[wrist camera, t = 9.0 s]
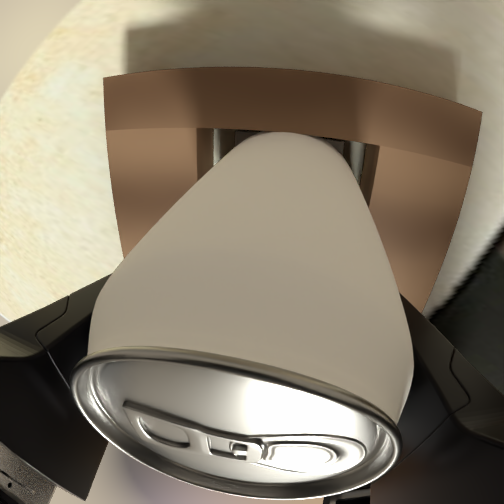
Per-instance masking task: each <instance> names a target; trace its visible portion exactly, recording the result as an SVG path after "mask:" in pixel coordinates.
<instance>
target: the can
mask: <svg viewBox="0 0 504 504" xmlns="http://www.w3.org/2000/svg"><path fill="white" fill-rule="evenodd" d="M413 371H414V358H413V348H412V341H411V336H410V332H409V327H408V323H407V319H406V315H405V312H404V308H403V305H402V301H401V298H400V294H399V291H398V288H397V285H396V282H395V278H394V275H393V272H392V269H391V267H390V264H389V261H388V258H387V255H386V252H385V249H384V247H383V244H382V241H381V239H380V236H379V233H378V231H377V228H376V226H375V223H374V221H373V218H372V216H371V213H370V211H369V208H368V206H367V204H366V201H365V199H364V197H363V194H362V192H361V190H360V188H359V185H358V183H357V181H356V179H355V177H354V175H353V173H352V171H351V169H350V167H349V165H348V163H347V162H346V160H345V159H344V157H343V156H342V155H341V154H340V153H339V151H338V150H337V149H336V148H335V147H333V146H332V145H331V144H330V143H329V142H327V141H326V140H324V139H323V138H321V137H319V136H313V135H304V134H297V133H289V132H273V131H262V132H259V133H257V134H254V135H252V136H250V137H248V138H247V139H245V140H244V141H242V142H241V143H240V144H238V145H237V146H236V147H235V148H234V149H232V150H231V151H230V152H229V153H228V154H227V155H226V156H224V157H223V158H222V159H221V160H220V161H219V162H218V163H217V164H216V165H215V166H213V167H212V168H211V169H210V170H209V171H208V172H207V173H206V174H205V175H204V176H203V177H202V178H201V179H200V180H199V181H198V182H197V183H196V184H194V185H193V186H192V187H191V188H190V189H189V190H188V191H187V192H186V193H185V194H184V195H183V196H182V197H181V198H180V199H179V200H178V201H177V202H176V203H175V204H174V205H173V206H172V207H171V208H170V209H169V210H168V211H167V212H166V214H165V215H164V216H163V217H162V218H161V219H160V220H159V221H158V222H157V223H156V224H155V225H154V226H153V227H152V228H151V229H150V230H149V231H148V233H147V234H146V235H145V236H144V237H143V238H142V239H141V240H140V241H139V242H138V244H137V245H136V246H135V247H134V248H133V249H132V250H131V251H130V253H129V254H128V255H127V256H126V257H125V258H124V260H123V261H122V262H121V263H120V265H119V266H118V267H117V268H116V269H115V271H114V272H113V273H112V275H111V276H110V277H109V279H108V280H107V282H106V283H105V285H104V287H103V288H102V290H101V292H100V293H99V295H98V298H97V300H96V303H95V306H94V310H93V313H92V319H91V324H90V332H89V343H88V353H87V356H85V357H84V358H82V359H81V360H80V361H79V362H78V363H77V364H76V365H75V367H74V368H73V370H72V372H71V376H70V390H71V394H72V397H73V399H74V402H75V404H76V405H77V407H78V409H79V410H80V412H81V413H82V415H83V416H84V417H85V419H86V420H87V421H88V422H89V423H90V424H91V426H92V427H93V428H94V429H95V430H96V431H97V432H98V433H100V434H101V435H102V436H103V437H104V438H105V439H106V440H108V441H109V442H110V443H111V444H113V445H114V446H116V447H117V448H118V449H120V450H121V451H122V452H124V453H125V454H127V455H128V456H130V457H132V458H133V459H135V460H137V461H138V462H140V463H142V464H144V465H146V466H148V467H150V468H152V469H154V470H156V471H158V472H160V473H162V474H164V475H167V476H169V477H171V478H174V479H177V480H180V481H182V482H185V483H188V484H191V485H194V486H197V487H200V488H204V489H207V490H212V491H215V492H220V493H224V494H229V495H235V496H241V497H248V498H257V499H273V500H293V499H294V500H296V499H310V498H319V497H325V496H331V495H335V494H340V493H344V492H347V491H351V490H354V489H357V488H359V487H362V486H364V485H367V484H369V483H371V482H373V481H375V480H376V479H378V478H380V477H381V476H383V475H384V474H385V473H387V472H388V471H389V470H390V469H391V468H392V467H393V466H394V465H395V464H396V462H397V461H398V459H399V457H400V455H401V453H402V448H403V440H402V436H401V433H400V430H399V428H398V427H397V423H398V420H399V418H400V415H401V413H402V410H403V408H404V405H405V403H406V400H407V397H408V394H409V390H410V387H411V383H412V378H413Z"/></svg>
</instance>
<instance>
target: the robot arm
mask: <svg viewBox="0 0 504 504" xmlns="http://www.w3.org/2000/svg"><path fill="white" fill-rule="evenodd" d="M111 275H112V274H110V275H108V276H106V277H104V278H102V279H100V280H98V281H96V282H94V283H92V284H90V285H88V286H86V287H84V288H82V289H80V290H78V291H76V292H74V293H72V294H70V296H66V297H64V298H62V299H60V300H58V301H56V302H54V303H52V304H50V305H48V306H46V307H44V308H41V309H39V310H37V311H35V312H33V313H30V314H28V315H26V316H23V317H21V318H19V319H17V320H14V321H12V322H10V323H8V324H6V325H3V326H1V327H0V504H49V503H50V500H51V498H52V496H53V494H54V492H55V489H56V487H57V486H58V487H59V488H61V489H63V490H65V491H67V492H68V493H70V494H72V495H74V496H76V497H78V498H80V499H82V500H84V501H85V500H86V498H87V496H88V493H89V491H90V488H91V486H92V483H93V480H94V478H95V475H96V472H97V470H98V467H99V465H100V462H101V459H102V457H103V455H104V452H105V450H106V447H107V445H108V440H106V439H105V438H104V437H103V436H102V435H101V434H100V433H98V432H97V431H96V430H95V429H94V428H93V427H92V426H91V424H90V423H89V422H88V421H87V420H86V419H85V417H84V416H83V415H82V413H81V412H80V410H79V409H78V407H77V405H76V404H75V402H74V399H73V397H72V394H71V390H70V376H71V372H72V370H73V368H74V367H75V365H76V364H77V363H78V362H79V361H80V360H81V359H82V358H84V357H85V356H87V353H88V343H89V332H90V324H91V319H92V313H93V310H94V306H95V303H96V300H97V298H98V295H99V293H100V292H101V290H102V288H103V287H104V285H105V283H106V282H107V280H108V279H109V277H110V276H111ZM399 294H400V298H401V301H402V305H403V308H404V312H405V315H406V319H407V323H408V327H409V332H410V336H411V341H412V348H413V358H414V371H413V378H412V383H411V387H410V390H409V394H408V397H407V400H406V403H405V405H404V408H403V410H402V413H401V415H400V418H399V420H398V423H397V427H398V428H399V430H400V433H401V436H402V440H403V448H402V453H401V455H400V457H399V459H398V461H397V462H396V464H395V465H394V466H393V467H392V468H391V469H390V470H389V471H388V472H387V473H385V474H384V475H383V476H381V477H380V478H378V479H376V480H375V481H373V482H371V483H369V484H367V485H364V486H362V487H359V488H357V489H354V490H351V491H347V492H344V493H340V494H335V495H331V496H325V497H324V500H323V504H504V395H503V394H502V393H500V392H499V391H498V390H497V389H496V388H495V387H494V386H493V385H492V384H491V383H490V382H489V381H488V380H487V379H486V378H485V377H484V376H483V375H481V374H480V373H479V372H478V371H477V370H476V369H475V368H474V367H473V366H472V365H471V364H470V363H469V362H468V361H467V360H466V359H465V358H464V357H463V355H462V354H461V353H460V352H459V351H458V350H457V349H454V346H453V345H452V344H451V343H450V342H449V341H448V340H447V339H446V338H445V337H444V336H443V335H442V334H441V333H440V332H439V331H438V330H437V329H436V328H435V327H434V326H433V325H432V324H431V323H430V322H429V321H428V320H427V319H426V318H425V317H424V316H423V315H422V314H421V313H420V312H419V311H418V310H417V309H416V308H415V307H414V306H413V305H412V304H411V303H410V302H409V301H408V300H407V299H406V298H405V297H404V296H403V295H402V294H401V293H400V292H399Z"/></svg>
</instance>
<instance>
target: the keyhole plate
mask: <svg viewBox="0 0 504 504" xmlns="http://www.w3.org/2000/svg"><path fill="white" fill-rule="evenodd" d="M103 86H104V111H105V127H106V139H107V151H108V160H109V169H110V178H111V185H112V193H113V200H114V206H115V213H116V219H117V225H118V231H119V236H120V241H121V247H122V252H123V257H124V258H125V257H126V256H127V255H128V254H129V253H130V251H131V250H132V249H133V248H134V247H135V246H136V245H137V244H138V242H139V241H140V240H141V239H142V238H143V237H144V236H145V235H146V234H147V233H148V231H149V230H150V229H151V228H152V227H153V226H154V225H155V224H156V223H157V222H158V221H159V220H160V219H161V218H162V217H163V216H164V215H165V214H166V212H167V211H168V210H169V209H170V208H171V207H172V206H173V205H174V204H175V203H176V202H177V201H178V200H179V199H180V198H181V197H182V196H183V195H184V194H185V193H186V192H187V191H188V190H189V189H190V188H191V187H192V186H193V185H194V184H196V183H197V182H198V181H199V180H200V179H201V178H202V177H203V176H204V175H205V174H206V173H207V172H208V171H209V170H210V169H211V168H212V167H213V128H221V129H244V130H260V131H273V132H289V133H297V134H304V135H313V136H321V137H329V138H336V139H343V140H349V141H356V142H362V143H367V145H366V152H365V159H364V165H363V171H362V177H361V183H360V190H361V192H362V194H363V197H364V199H365V201H366V204H367V206H368V208H369V211H370V213H371V216H372V218H373V221H374V223H375V226H376V228H377V231H378V233H379V236H380V239H381V241H382V244H383V247H384V249H385V252H386V255H387V258H388V261H389V264H390V267H391V269H392V272H393V275H394V278H395V282H396V285H397V288H398V291H399V292H400V293H401V294H402V295H403V296H404V297H405V298H406V299H407V300H408V301H409V302H410V303H411V304H412V305H413V306H414V307H415V308H416V309H417V310H418V311H419V312H420V313H422V311H423V309H424V307H425V304H426V302H427V300H428V298H429V295H430V293H431V291H432V288H433V286H434V284H435V281H436V279H437V276H438V274H439V271H440V269H441V266H442V264H443V261H444V258H445V256H446V253H447V250H448V248H449V245H450V242H451V239H452V236H453V233H454V230H455V227H456V224H457V221H458V218H459V214H460V211H461V208H462V204H463V201H464V197H465V194H466V190H467V186H468V182H469V178H470V174H471V170H472V166H473V161H474V157H475V152H476V147H477V142H478V136H479V131H480V125H481V118H482V112H481V111H478V110H476V109H473V108H470V107H467V106H465V105H462V104H459V103H456V102H453V101H450V100H447V99H443V98H440V97H437V96H433V95H430V94H426V93H423V92H419V91H415V90H412V89H408V88H404V87H399V86H395V85H391V84H386V83H382V82H377V81H372V80H366V79H361V78H355V77H349V76H343V75H336V74H329V73H321V72H313V71H303V70H292V69H279V68H260V67H199V68H180V69H167V70H156V71H147V72H139V73H131V74H124V75H117V76H111V77H105V78H103ZM257 133H259V132H249V131H235V147H236V146H237V145H238V144H240V143H241V142H242V141H244V140H245V139H247V138H248V137H250V136H252V135H254V134H257ZM324 140H326V141H327V142H329V143H330V144H331V145H332V146H333V147H335V148H336V149H337V150H338V151H339V153H340V154H341V155H342V156H343V148H344V141H338V140H330V139H324Z"/></svg>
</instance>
